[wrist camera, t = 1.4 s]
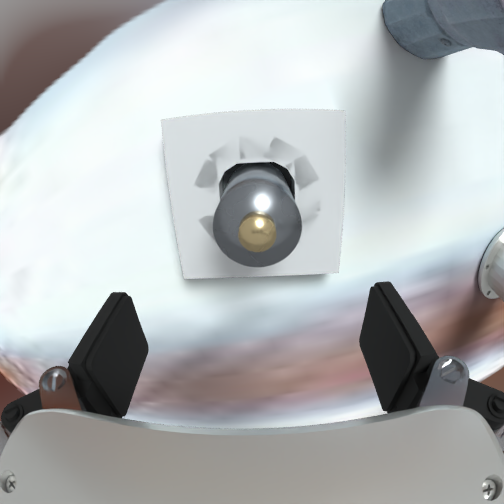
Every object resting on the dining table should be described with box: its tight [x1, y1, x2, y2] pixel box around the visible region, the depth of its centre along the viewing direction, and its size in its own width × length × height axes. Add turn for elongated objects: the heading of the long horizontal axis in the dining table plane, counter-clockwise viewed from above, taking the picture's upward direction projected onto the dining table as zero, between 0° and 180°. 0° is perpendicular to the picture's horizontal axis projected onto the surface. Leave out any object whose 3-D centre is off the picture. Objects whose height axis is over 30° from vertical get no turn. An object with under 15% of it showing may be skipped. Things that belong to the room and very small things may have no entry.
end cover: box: [213, 162, 302, 267], centre depth 23 cm, size 6×6×11 cm
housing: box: [161, 109, 346, 279], centre depth 27 cm, size 16×16×3 cm
